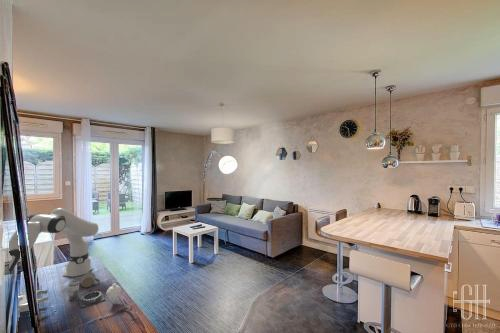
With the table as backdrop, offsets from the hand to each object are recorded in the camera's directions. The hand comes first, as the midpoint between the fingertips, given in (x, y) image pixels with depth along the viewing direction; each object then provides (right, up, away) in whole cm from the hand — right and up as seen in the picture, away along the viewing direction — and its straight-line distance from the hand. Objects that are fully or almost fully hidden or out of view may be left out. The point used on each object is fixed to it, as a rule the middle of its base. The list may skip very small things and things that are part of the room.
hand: (47, 294), depth 133 cm
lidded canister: (+8, -7, +9) cm, 14 cm away
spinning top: (+36, -8, +5) cm, 37 cm away
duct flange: (+20, -8, +8) cm, 23 cm away
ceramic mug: (+7, -8, +25) cm, 28 cm away
